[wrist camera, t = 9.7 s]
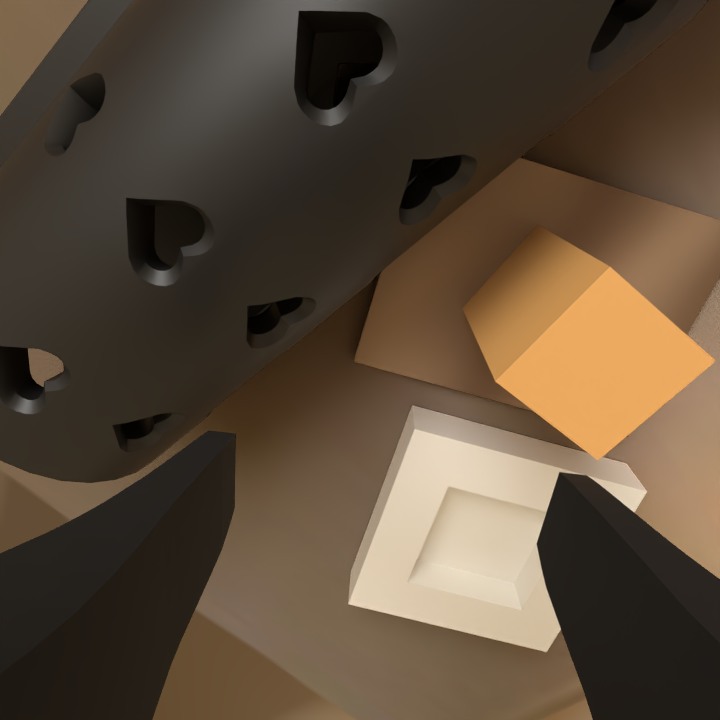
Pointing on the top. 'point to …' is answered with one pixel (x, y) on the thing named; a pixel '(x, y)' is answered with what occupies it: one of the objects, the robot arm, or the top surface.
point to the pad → (498, 241)
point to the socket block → (470, 528)
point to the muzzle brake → (251, 187)
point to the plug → (579, 342)
